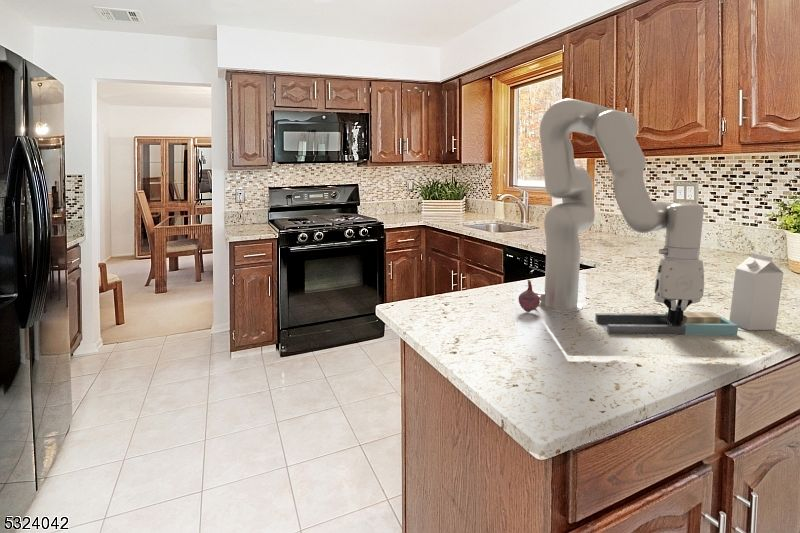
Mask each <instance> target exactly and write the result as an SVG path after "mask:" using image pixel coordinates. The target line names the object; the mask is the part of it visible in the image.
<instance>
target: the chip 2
mask: <svg viewBox="0 0 800 533" xmlns="http://www.w3.org/2000/svg"><path fill="white" fill-rule="evenodd" d="M714 313H715V312H713V313H698V314H699V315H701V316H703V317H704V324H720V322H721V317H722V316H721V315H719V314H717V313H715V314H714ZM716 314H717V315H716ZM718 315H719V316H718ZM720 316H721V317H720Z"/></svg>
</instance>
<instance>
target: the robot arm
mask: <svg viewBox="0 0 800 533" xmlns="http://www.w3.org/2000/svg"><path fill="white" fill-rule="evenodd" d="M638 126H639V125H638V121H637V119H636V118H635V116H634V115H633V114H631V113H629V112H626V111H623V110H617V109H613V108H609V107H606V106H604V105H600V104H596V103H592V102H589V101H584V100H580V99H575V98H564V99H561V100H558V101H556V102H555V103H553V104H551V105H550V107H549V108H547V110H546V111H545V113H544V114H543V117H542V119H541V121H540V125H539V139H540V147H541V153H542V155H541V156H542V168H543V176H544V184H545V186H544V187H545V190H546V192H547V194H548V195H549V196H550V197H551V198H554V199H561V201H562V203H557V204H556V205H553V206H552V207H551V208H549V209H548V211H547V212H546V214H545V216H544V221H543V224H544V232H545V274H544V275H545V277H544V291H543V292H540V291H534V292H535V293H536V294H537V295H538V296H539V299H540V303H539V306H538V307H539V308H542V309H544V310H547V311H552V312H559V313H560V312H561V313H575V312H580V311H581V310H583V309H584V306H583V305H582V304H581V303H579V301H578V298H579V284H580V283H579V282H580V281H579V280H580V264H581V262H580V261H581V260H580V259H581V245H580V244H581V242H580V238H579V234H581V233H584V232H587V231H588V230H590V228H591V227H592V225H593V224H594V222H595V216H596V214H595V202H594V192H593V183H592V178H591V176H590V173H589V172H588V171H587V170H586V169H585V168H584V167H582V166H580V165H575V157H574V147H573V143H572V141H571V137H570V133H571V132H573V133H581V134H585V135H589V136H591V137H594V138H595V139H596V141H597V144H598V147H599V148H600V151H601V152H602V154H603V157H604V159H605V161H606V163H607V165H608V168H609V170H610V173H611V176H612V187H613V192H614V196H615V200H616V202H617V203H616V204H617V205H618V206H617V207H619V210H620V213H621V214H622V216H623V219H624V220H625V222H626V224H627V225H628V226H629V228H630V229H631V230H632V231H634V232H636V233H639V234H647V233H651V232H656V231H662V230H665V241H664V245H663V248H660V249H659V250H658V254H659V255H662V256H663V257H661V258H660V261H659V264H658V267H657V270H656V274H655V282H654V297H653V301H654V302H656V303H660V304H663V305H664V306H666V308H668V311H667V312H668V321H669V323H668V324H670V325H681V322H682V321H683V312H686V310H687V308H688V307H689V306H691V304H697V303H700V302H701V299H702V298H703V296H704V291H705V271H704V261H703V259H701V258H700V252H701V251H700V250H701V243H702V242H701V240H702V232H703V231H702V230H703V229H702V228H703V222H704V211H705V210H704V206H703V205H702V204H699V203H695V202H694V203H692V202H688V203H687V202H683V203H681V202H677V203H672V202H665V201H658V200H656V201H655V200H654V201H653V200H652V199H651V197H650V195H649V193H648V190H647V187H646V185H645V181H644V170H645V168H646V156H645V155H644V153H643V150H642V148H641V147H640V145H639V142H638V140H637V138H636V135H637V133H638V129H639V128H638Z"/></svg>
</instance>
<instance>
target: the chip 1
mask: <svg viewBox="0 0 800 533" xmlns="http://www.w3.org/2000/svg"><path fill="white" fill-rule="evenodd" d="M684 323H695V324H704V317H703V316H701V315H699V314H698V313H683V321H682V322H681V325H684Z"/></svg>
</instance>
